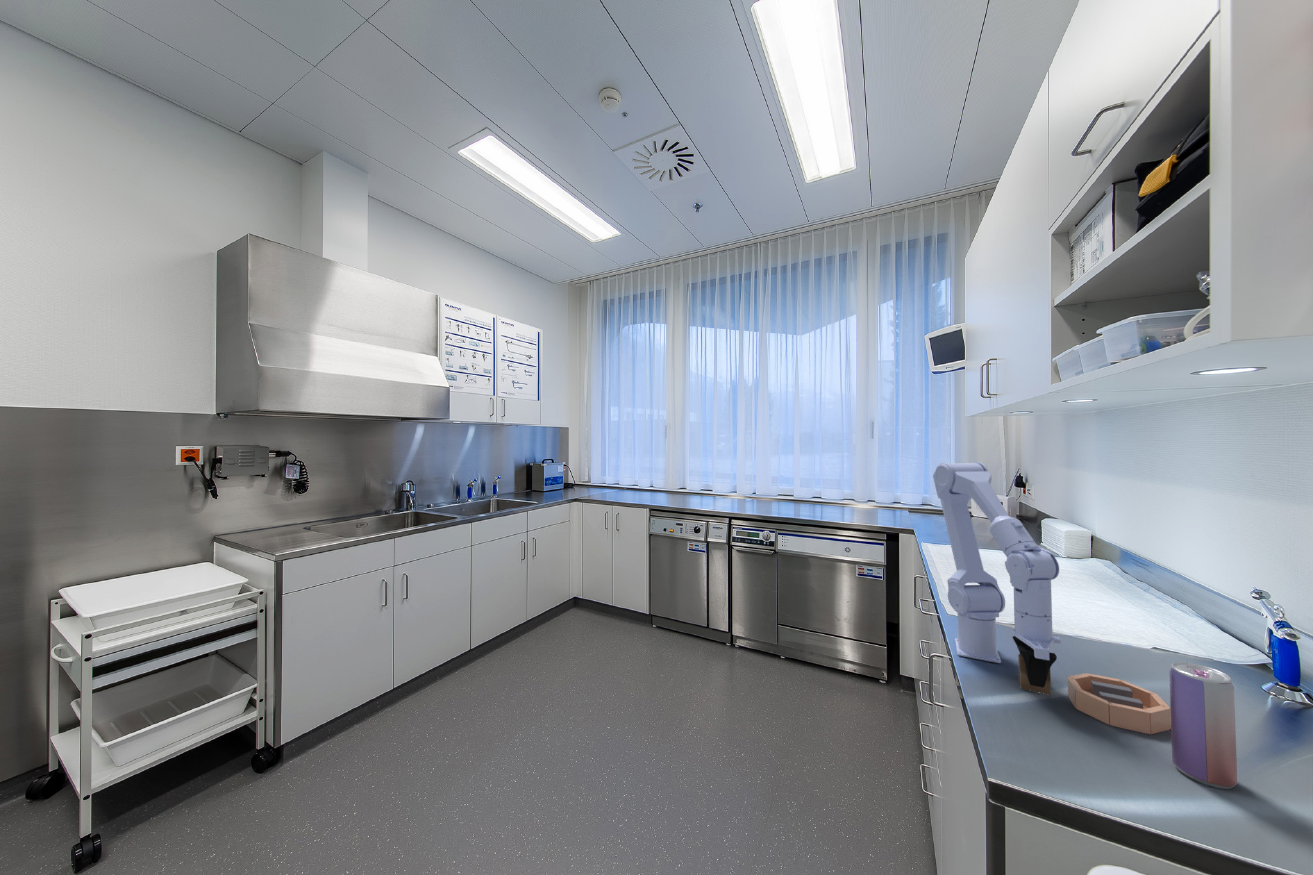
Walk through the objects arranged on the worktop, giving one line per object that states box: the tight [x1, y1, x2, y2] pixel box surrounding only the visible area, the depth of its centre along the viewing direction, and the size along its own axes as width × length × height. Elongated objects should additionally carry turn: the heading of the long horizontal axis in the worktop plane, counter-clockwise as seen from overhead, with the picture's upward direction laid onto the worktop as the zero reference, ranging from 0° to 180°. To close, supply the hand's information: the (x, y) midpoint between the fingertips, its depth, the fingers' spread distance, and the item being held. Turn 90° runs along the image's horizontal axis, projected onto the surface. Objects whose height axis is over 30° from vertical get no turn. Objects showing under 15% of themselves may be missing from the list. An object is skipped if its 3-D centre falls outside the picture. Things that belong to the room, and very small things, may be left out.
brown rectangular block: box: [1017, 653, 1052, 696], centre depth 87 cm, size 2×4×6 cm, turn 59°
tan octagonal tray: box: [1066, 672, 1171, 735], centre depth 80 cm, size 12×12×4 cm
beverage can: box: [1168, 661, 1238, 790], centre depth 65 cm, size 6×6×15 cm
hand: (1034, 681), depth 87 cm, fingers open, 3 cm apart
